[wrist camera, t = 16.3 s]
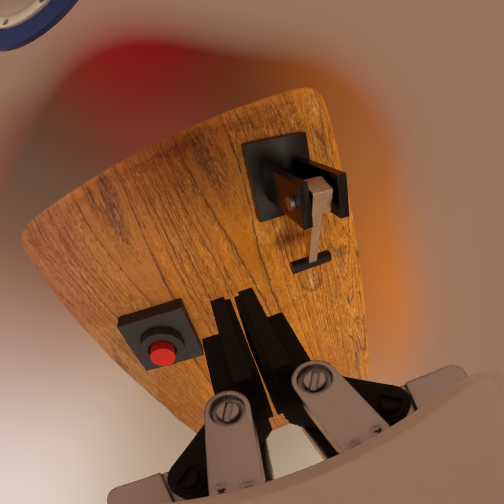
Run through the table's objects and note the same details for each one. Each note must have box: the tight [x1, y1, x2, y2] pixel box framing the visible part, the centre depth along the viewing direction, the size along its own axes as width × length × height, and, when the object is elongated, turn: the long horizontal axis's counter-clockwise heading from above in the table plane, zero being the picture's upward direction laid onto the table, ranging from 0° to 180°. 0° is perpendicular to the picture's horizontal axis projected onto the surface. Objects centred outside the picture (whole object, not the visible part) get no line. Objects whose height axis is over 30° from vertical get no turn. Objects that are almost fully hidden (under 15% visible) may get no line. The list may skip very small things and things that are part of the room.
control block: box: [117, 299, 204, 371], centre depth 39 cm, size 10×10×4 cm
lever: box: [290, 176, 333, 274], centre depth 30 cm, size 12×5×2 cm, turn 12°
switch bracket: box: [241, 132, 349, 230], centre depth 30 cm, size 10×8×12 cm
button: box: [150, 340, 176, 366], centre depth 37 cm, size 4×4×2 cm
